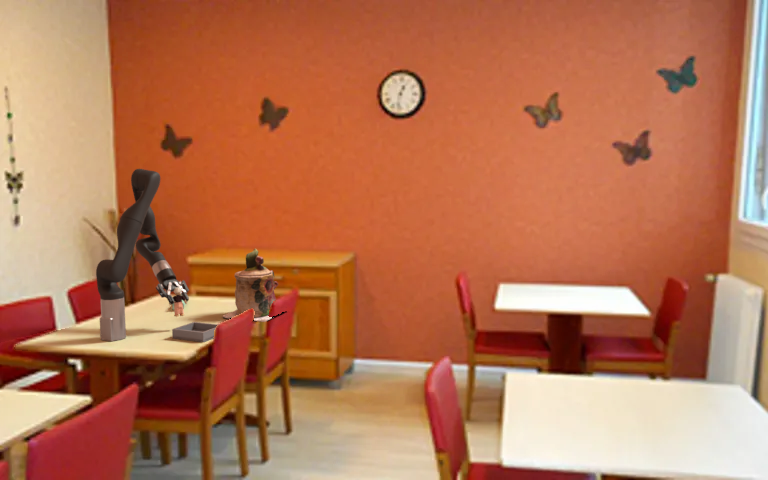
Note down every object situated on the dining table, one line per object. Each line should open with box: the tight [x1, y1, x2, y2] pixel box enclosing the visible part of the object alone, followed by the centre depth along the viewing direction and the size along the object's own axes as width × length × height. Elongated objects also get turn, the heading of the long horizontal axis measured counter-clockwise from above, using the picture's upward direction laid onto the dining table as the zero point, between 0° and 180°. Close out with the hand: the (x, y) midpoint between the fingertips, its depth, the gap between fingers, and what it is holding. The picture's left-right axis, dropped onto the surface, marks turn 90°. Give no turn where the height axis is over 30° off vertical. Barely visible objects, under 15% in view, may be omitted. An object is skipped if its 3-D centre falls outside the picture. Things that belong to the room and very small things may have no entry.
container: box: [171, 300, 186, 311], centre depth 347 cm, size 6×6×25 cm
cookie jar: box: [222, 248, 279, 323], centre depth 324 cm, size 25×25×32 cm
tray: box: [171, 321, 219, 343], centre depth 286 cm, size 14×16×4 cm
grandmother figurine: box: [168, 287, 188, 318], centre depth 296 cm, size 8×4×13 cm, turn 132°
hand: (180, 302), depth 295 cm, fingers closed on grandmother figurine, 6 cm apart
